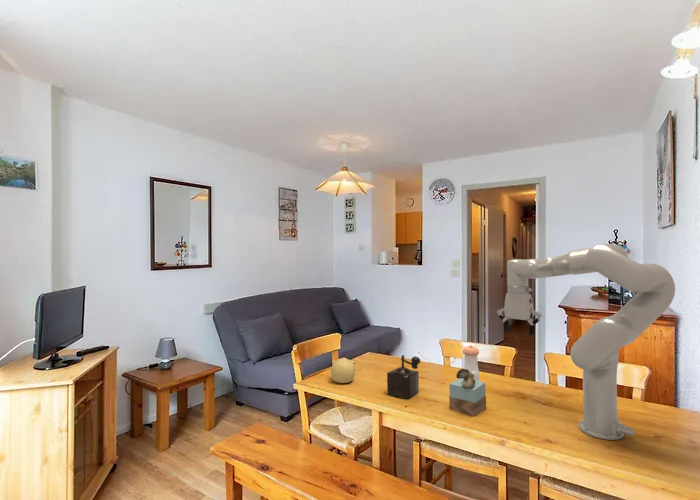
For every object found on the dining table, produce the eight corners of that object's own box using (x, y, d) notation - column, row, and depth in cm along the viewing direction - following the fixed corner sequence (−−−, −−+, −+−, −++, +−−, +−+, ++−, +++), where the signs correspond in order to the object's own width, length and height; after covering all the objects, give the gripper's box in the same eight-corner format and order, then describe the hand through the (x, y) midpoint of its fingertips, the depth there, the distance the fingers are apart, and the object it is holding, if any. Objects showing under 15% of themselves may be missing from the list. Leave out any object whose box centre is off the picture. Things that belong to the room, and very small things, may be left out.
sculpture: (356, 377, 187) (356, 355, 187) (353, 385, 175) (352, 362, 175) (333, 376, 188) (333, 354, 188) (329, 385, 176) (328, 361, 177)
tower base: (486, 409, 147) (486, 396, 147) (473, 417, 140) (472, 403, 140) (463, 402, 154) (462, 389, 154) (449, 409, 147) (449, 396, 147)
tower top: (485, 395, 148) (485, 382, 148) (474, 403, 140) (474, 389, 140) (461, 389, 155) (461, 377, 155) (449, 396, 147) (449, 383, 147)
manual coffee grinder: (385, 395, 163) (384, 353, 163) (398, 387, 172) (397, 347, 172) (418, 403, 153) (417, 358, 154) (430, 394, 162) (429, 352, 162)
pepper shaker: (459, 388, 169) (458, 345, 169) (468, 384, 174) (467, 342, 174) (474, 392, 164) (473, 348, 164) (483, 388, 168) (482, 345, 169)
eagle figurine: (454, 376, 152) (451, 379, 143) (465, 362, 151) (462, 364, 143) (471, 389, 148) (468, 393, 140) (481, 375, 148) (479, 378, 140)
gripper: (544, 290, 147) (545, 335, 147) (501, 288, 160) (502, 329, 159) (536, 292, 142) (538, 338, 142) (492, 290, 155) (493, 332, 154)
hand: (519, 333), depth 151 cm, fingers open, 9 cm apart
